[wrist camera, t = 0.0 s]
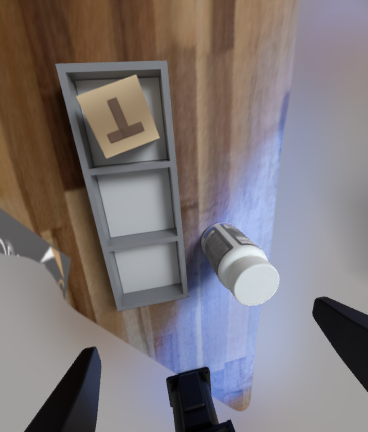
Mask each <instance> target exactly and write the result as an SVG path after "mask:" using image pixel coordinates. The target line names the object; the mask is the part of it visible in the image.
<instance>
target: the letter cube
mask: <svg viewBox="0 0 368 432" xmlns="http://www.w3.org/2000/svg"><path fill="white" fill-rule="evenodd" d="M76 98H77V100H78V102H79V104H80V106H81V108H82V110H83V112H84V114H85V116H86V118H87V120H88V122H89V124H90V126H91V128H92V130H93V132H94V134H95V136H96V138H97V141H98V143H99V145H100V147H101V149H102V151H103V153H104V155H105V157H106V159H107V158H109V157H112V156H114V155H117V154H120V153H122V152H125V151H127V150H130V149H133V148H135V147H138V146H140V145H143V144H146V143H148V142H151V141H153V140H156V139H159V138H160V137H159V135H158V132H157V129H156V126H155V124H154V121H153V118H152V116H151V113H150V110H149V108H148V105H147V102H146V100H145V97H144V94H143V92H142V89H141V86H140V84H139V81H138V78H137V75H133V76H130V77H127V78H125V79H122V80H119V81H116V82H114V83H111V84H108V85H105V86H103V87H100V88H97V89H94V90H92V91H89V92H86V93H83V94H81V95H78V96H76Z"/></svg>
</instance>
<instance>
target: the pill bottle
mask: <svg viewBox="0 0 368 432" xmlns="http://www.w3.org/2000/svg"><path fill="white" fill-rule="evenodd" d="M201 246H202V250H203V252H204V254H205V255H206V257H207V259H208V261H209V262H210V264H211V266H212V268H213V269H214V271H215V273H216V275H217V276H218V278H219V280H220V282H221V283H222V284H223V285H224V286H225V287H226V288H227V289H229V290H230V291H231V293H232V294H233V295H234V297H235V298H236V300H237V301H238V302H239V303H241V304H243V305H246V306H255V305H259V304H262V303H264V302H265V301H267V300H268V299H269V298H270V297H272V296H273V294H274V293H275V292H276V290H277V288H278V285H279V275H278V272H277V270H276V269H275V268H274V267H273V266H272V265H271V264H270V263H269V262H268V260H267V257H266V255H265V253H264V252H263V251H262V250H261V249H260V248H259V247H258V246H256V245H255V244H254V243H253V242H252V241H251V240H250V239H249V238H247V237H246V236H245V235H244V234H243V233H242V232H241V231H240V230H239V229H237V228H236V227H235V226H234V225H232V224H230V223H227V222H221V223H217V224H214V225H212V226H211V227H209V228H208V229H207V230H206V231H205V233H204V234H203V237H202V240H201Z"/></svg>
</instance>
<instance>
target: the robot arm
mask: <svg viewBox="0 0 368 432" xmlns="http://www.w3.org/2000/svg"><path fill="white" fill-rule="evenodd" d="M312 314H313V317H314V319H315V321H316V322H317V324H318V325H319V326H320V328H321V330H322V331H323V332H324V334H325V336H326V337H327V339H328V340H329V342H330V343H331V345H332V346H333V348H334V349H335V350H336V352H337V353H338V355H339V356H340V357H341V358H342V360H343V361H344V363H345V364H346V365H347V366H348V368H349V369H350V370H351V371H352V373H353V374H354V375H355V377H356V378H357V379H358V380H359V382H360V383H361V384H362V385H363V387H364V388H365V389H366V390H367V392H368V315H367V314H364V313H362V312H360V311H357V310H355V309H353V308H350V307H348V306H346V305H344V304H341V303H339V302H337V301H335V300H333V299H330V298H328V297H319V298H316V299H315V302H314V306H313V311H312ZM100 377H101V360H100V357H99V354H98V351H97V348H96V347H90V348H85V349H84V350H82V352H81V353H80V354H79V356H78V357H77V359H76V360H75V361H74V363H73V364H72V366H71V367H70V368H69V370H68V371H67V373H66V374H65V375H64V377H63V378H62V380H61V381H60V382H59V384H58V385H57V387H56V388H55V389H54V391H53V392H52V393H51V395H50V396H49V398H48V399H47V401H46V402H45V403H44V405H43V406H42V407H41V409H40V410H39V412H38V413H37V415H36V416H35V417H34V419H33V420H32V421H31V423H30V424H29V425H28V427H27V428H26V430H25V431H24V432H95V428H96V421H97V412H98V400H99V389H100ZM166 382H167V388H168V394H169V400H170V406H171V407H173V414H174V423H175V431H176V432H235V430H234V427H233V424H232V422H231V420H227V422H223V423H220V424H219V423H218V419H217V415H216V412H215V408H214V404H213V401H212V397H211V383H210V370H209V368H208V367H205V368H201V369H198V370H194V371H190V372H186V373H182V374H178V375H174V376H170V377H168V378H167V379H166Z"/></svg>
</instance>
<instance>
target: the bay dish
mask: <svg viewBox="0 0 368 432" xmlns="http://www.w3.org/2000/svg"><path fill="white" fill-rule="evenodd" d="M56 68H57V72H58V76H59V80H60V84H61V88H62V92H63V96H64V100H65V104H66V108H67V112H68V116H69V120H70V124H71V128H72V132H73V136H74V140H75V144H76V148H77V152H78V156H79V160H80V164H81V168H82V171H83V175H84V179H85V183H86V187H87V191H88V195H89V199H90V203H91V207H92V211H93V215H94V219H95V223H96V227H97V231H98V235H99V239H100V243H101V247H102V251H103V255H104V259H105V263H106V267H107V271H108V275H109V279H110V283H111V287H112V291H113V295H114V299H115V303H116V306H117V310H118V311H123V310H128V309H133V308H138V307H143V306H148V305H152V304H157V303H162V302H167V301H172V300H177V299H182V298H187V297H188V287H187V276H186V265H185V254H184V243H183V232H182V221H181V210H180V199H179V188H178V177H177V166H176V156H175V145H174V134H173V123H172V112H171V101H170V90H169V79H168V68H167V61H138V62H104V63H70V64H56ZM133 75H137V78H138V81H139V84H140V86H141V89H142V92H143V94H144V97H145V100H146V102H147V105H148V108H149V110H150V113H151V116H152V118H153V121H154V124H155V126H156V129H157V132H158V135H159V137H160V138H159V139H156V140H153V141H151V142H148V143H146V144H143V145H140V146H138V147H135V148H133V149H130V150H127V151H125V152H122V153H120V154H117V155H114V156H112V157H109V158H107V159H106V157H105V155H104V153H103V151H102V149H101V147H100V145H99V143H98V141H97V138H96V136H95V134H94V132H93V130H92V128H91V126H90V124H89V122H88V120H87V118H86V116H85V114H84V112H83V110H82V108H81V106H80V104H79V102H78V100H77V98H76V96H78V95H81V94H83V93H86V92H89V91H92V90H94V89H97V88H100V87H103V86H105V85H108V84H111V83H114V82H116V81H119V80H122V79H125V78H127V77H130V76H133Z"/></svg>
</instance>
